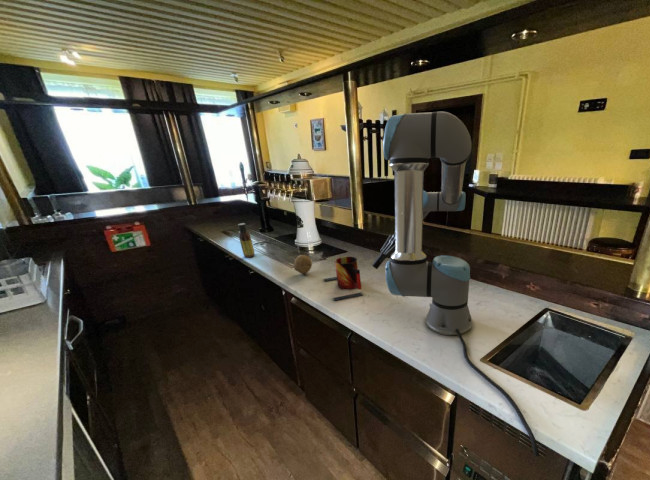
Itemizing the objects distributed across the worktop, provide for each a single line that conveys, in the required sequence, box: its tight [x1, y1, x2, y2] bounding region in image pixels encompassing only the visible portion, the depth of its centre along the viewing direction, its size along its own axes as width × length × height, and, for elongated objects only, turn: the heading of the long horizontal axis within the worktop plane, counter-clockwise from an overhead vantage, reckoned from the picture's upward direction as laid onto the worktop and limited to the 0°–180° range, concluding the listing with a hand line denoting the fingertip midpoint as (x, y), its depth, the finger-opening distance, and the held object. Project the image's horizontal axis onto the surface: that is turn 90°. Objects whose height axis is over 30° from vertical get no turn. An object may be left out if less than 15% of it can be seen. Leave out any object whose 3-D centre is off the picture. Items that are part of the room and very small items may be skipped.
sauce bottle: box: [237, 222, 256, 258], centre depth 178 cm, size 6×6×20 cm
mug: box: [334, 256, 362, 291], centre depth 134 cm, size 10×14×12 cm
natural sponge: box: [293, 254, 313, 275], centre depth 150 cm, size 9×9×10 cm
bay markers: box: [323, 276, 363, 302], centre depth 136 cm, size 24×12×1 cm, turn 20°
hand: (374, 267), depth 137 cm, fingers closed
